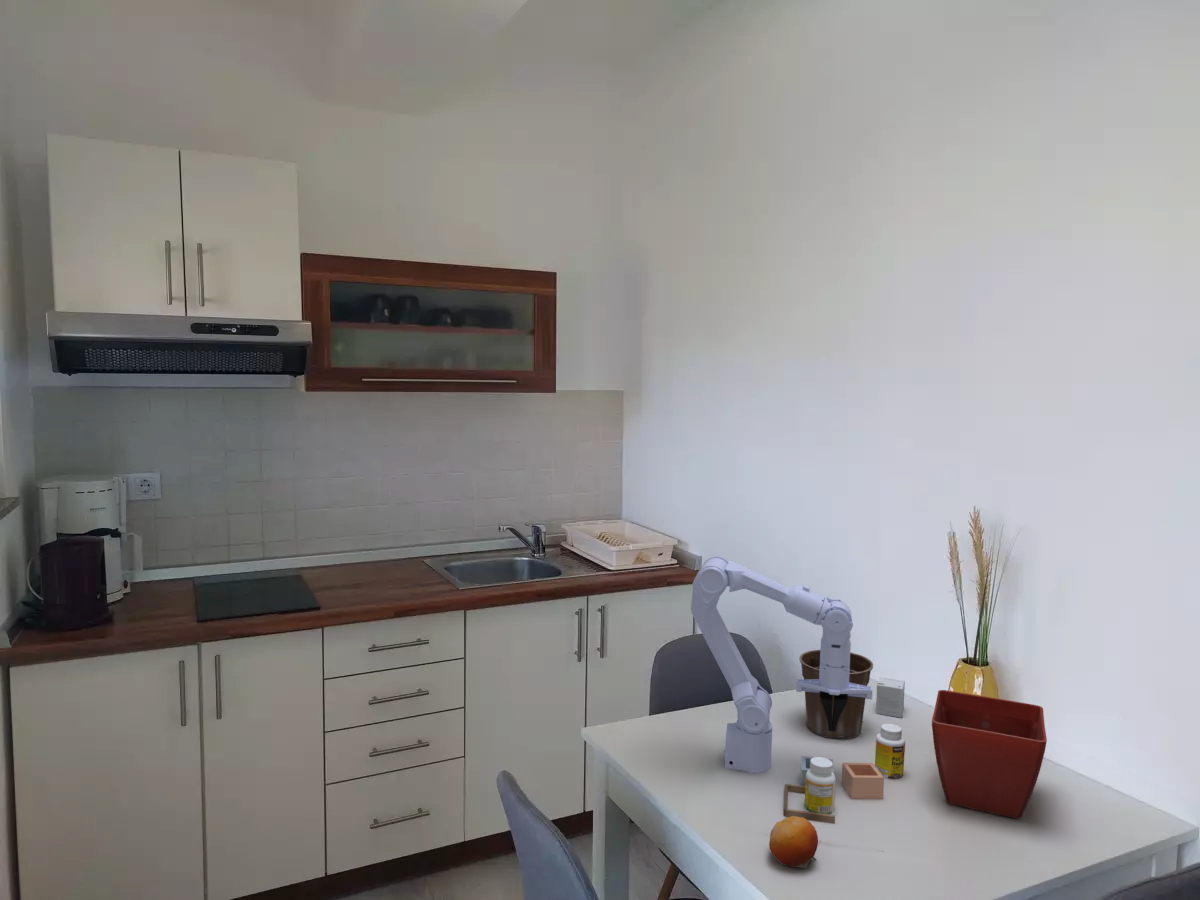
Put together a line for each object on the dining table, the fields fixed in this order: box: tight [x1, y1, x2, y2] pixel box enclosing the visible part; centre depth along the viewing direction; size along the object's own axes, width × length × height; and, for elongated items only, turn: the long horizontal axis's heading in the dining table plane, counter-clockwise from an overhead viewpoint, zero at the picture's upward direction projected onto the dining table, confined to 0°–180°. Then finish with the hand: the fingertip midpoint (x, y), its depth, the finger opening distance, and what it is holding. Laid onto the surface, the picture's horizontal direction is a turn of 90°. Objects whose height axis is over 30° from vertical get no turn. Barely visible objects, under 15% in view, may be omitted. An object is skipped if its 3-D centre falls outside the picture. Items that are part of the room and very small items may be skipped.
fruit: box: [768, 816, 819, 870], centre depth 138 cm, size 8×8×8 cm
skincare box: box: [875, 676, 906, 719], centre depth 201 cm, size 6×6×7 cm
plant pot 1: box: [798, 649, 874, 740], centre depth 190 cm, size 16×16×16 cm
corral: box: [783, 783, 836, 824], centre depth 154 cm, size 9×10×2 cm
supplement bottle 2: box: [874, 723, 906, 780], centre depth 167 cm, size 6×6×10 cm
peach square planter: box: [840, 762, 885, 800], centre depth 160 cm, size 6×6×5 cm
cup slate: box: [800, 755, 835, 786], centre depth 162 cm, size 6×6×5 cm
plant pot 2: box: [931, 689, 1048, 819], centre depth 159 cm, size 19×19×17 cm
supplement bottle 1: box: [804, 756, 837, 815], centre depth 153 cm, size 5×5×10 cm
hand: (832, 729), depth 165 cm, fingers closed
